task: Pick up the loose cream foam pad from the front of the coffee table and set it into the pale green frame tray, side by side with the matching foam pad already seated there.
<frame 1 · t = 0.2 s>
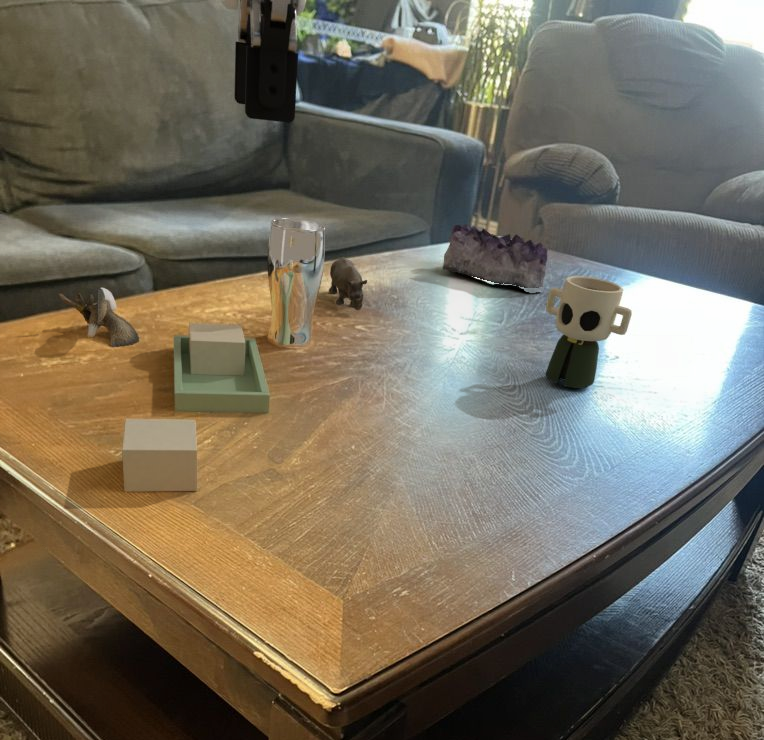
hand: (262, 111, 55), 30 cm above the table, tool pointing down, fingers open, 9 cm apart
loose pad: (161, 474, 69), on the table
rhino figurine: (346, 305, 119), on the table
beer glass: (290, 344, 102), on the table
character mug: (567, 384, 102), on the table
eagle figurine: (104, 340, 95), on the table
geode: (490, 280, 144), on the table
seated pad: (216, 365, 91), resting on frame tray
frame tray: (218, 383, 88), on the table
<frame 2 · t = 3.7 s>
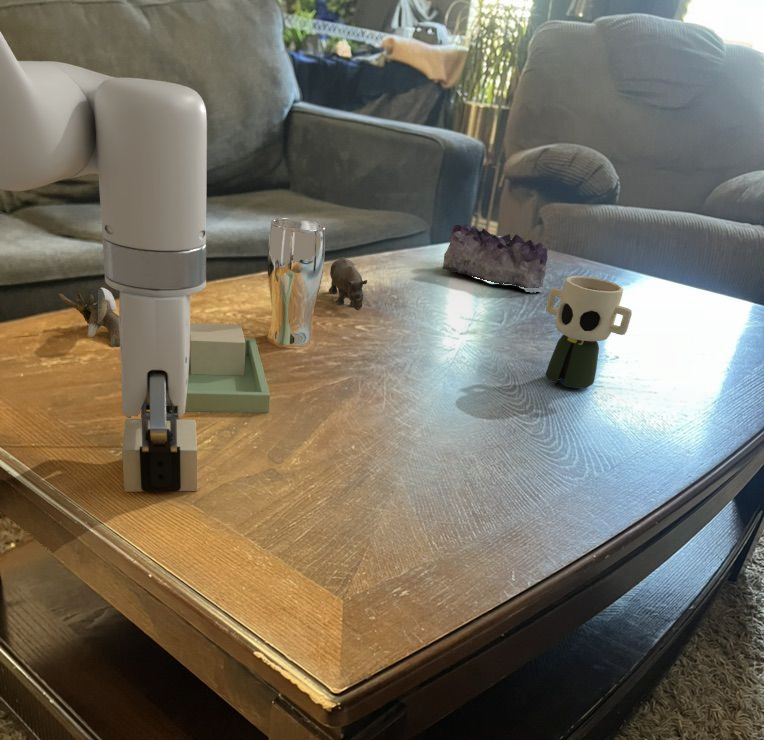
hand: (161, 468, 69), 1 cm above the table, tool pointing down, fingers closed on loose pad, 6 cm apart
loose pad: (161, 474, 69), on the table, touching gripper
everything else where it was.
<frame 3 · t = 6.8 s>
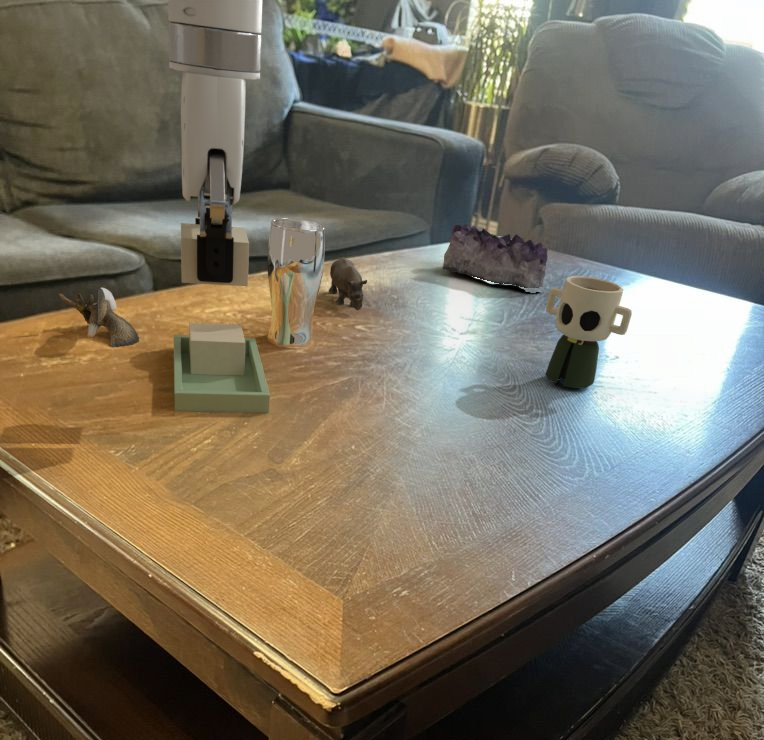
hand: (213, 269, 74), 15 cm above the table, tool pointing down, fingers closed on loose pad, 6 cm apart
loose pad: (213, 275, 74), point 14 cm above the table, touching gripper
everything else where it was.
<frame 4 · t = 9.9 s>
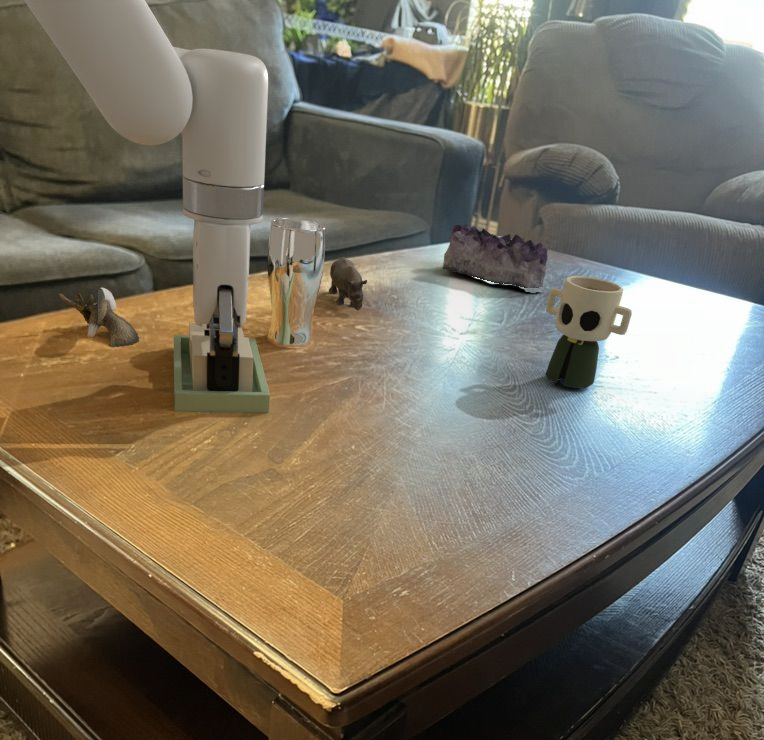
hand: (220, 376, 83), 2 cm above the table, tool pointing down, fingers closed on loose pad, 6 cm apart
loose pad: (221, 381, 83), point 2 cm above the table, touching gripper
everything else where it was.
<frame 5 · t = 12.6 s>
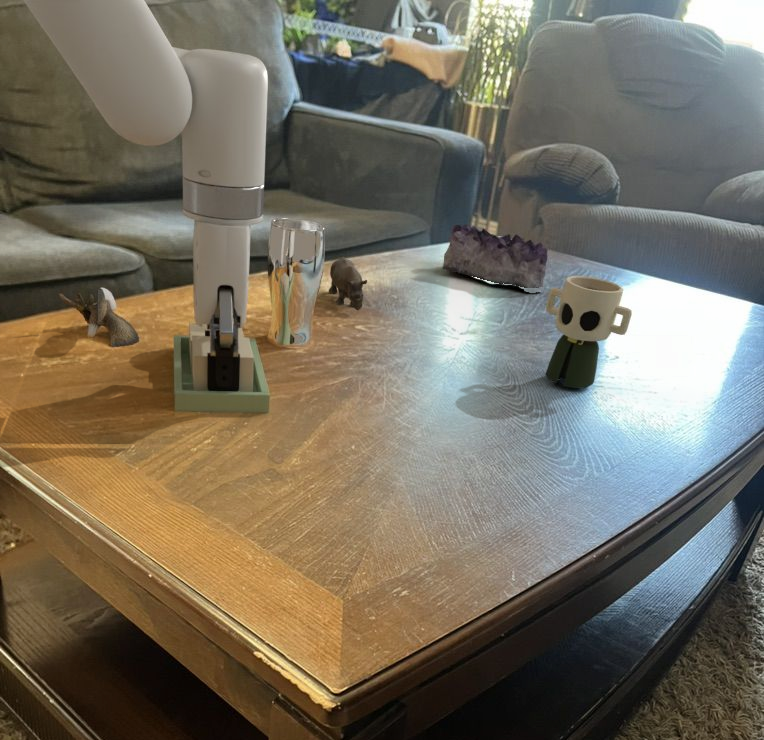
hand: (221, 376, 83), 2 cm above the table, tool pointing down, fingers closed on loose pad, 5 cm apart
loose pad: (221, 381, 83), point 2 cm above the table, touching gripper
everything else where it was.
when the fingers open (3 cm above the table, at t = 15.1 s): loose pad drops 2 cm, resting on frame tray.
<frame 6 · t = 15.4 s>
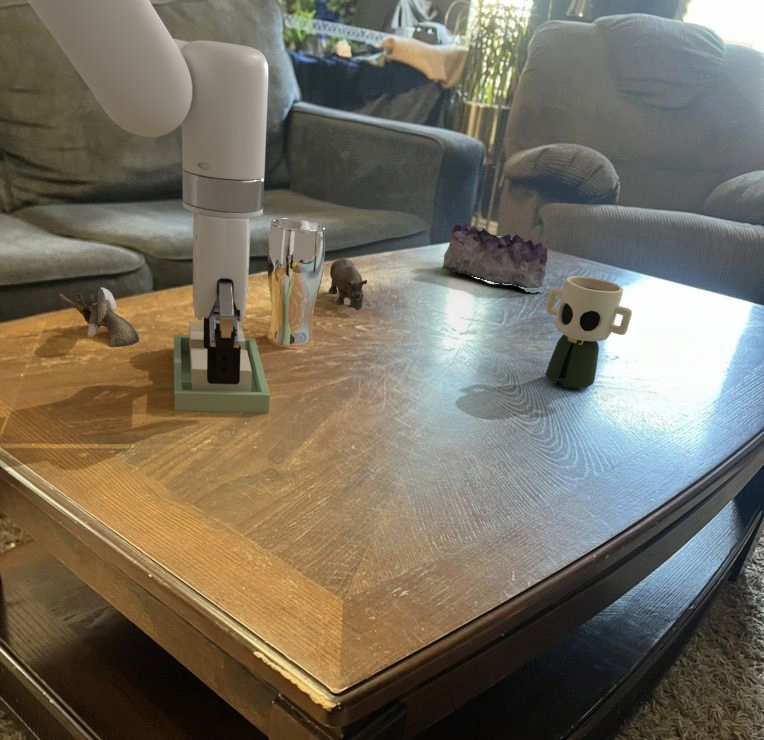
hand: (220, 365, 82), 4 cm above the table, tool pointing down, fingers open, 9 cm apart
loose pad: (220, 394, 84), resting on frame tray
everything else where it was.
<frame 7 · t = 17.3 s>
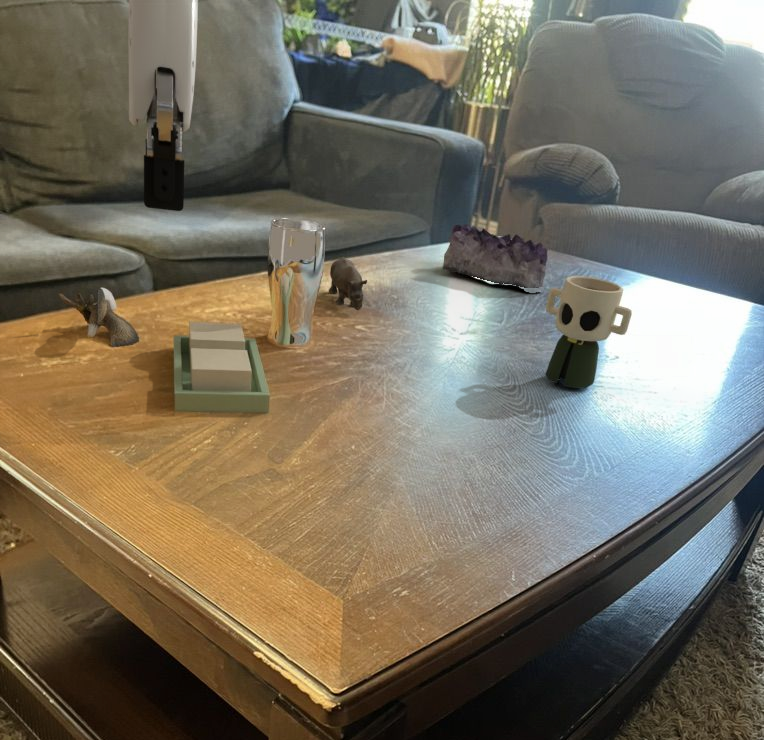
hand: (163, 197, 70), 21 cm above the table, tool pointing down, fingers open, 9 cm apart
nothing on the table moved.
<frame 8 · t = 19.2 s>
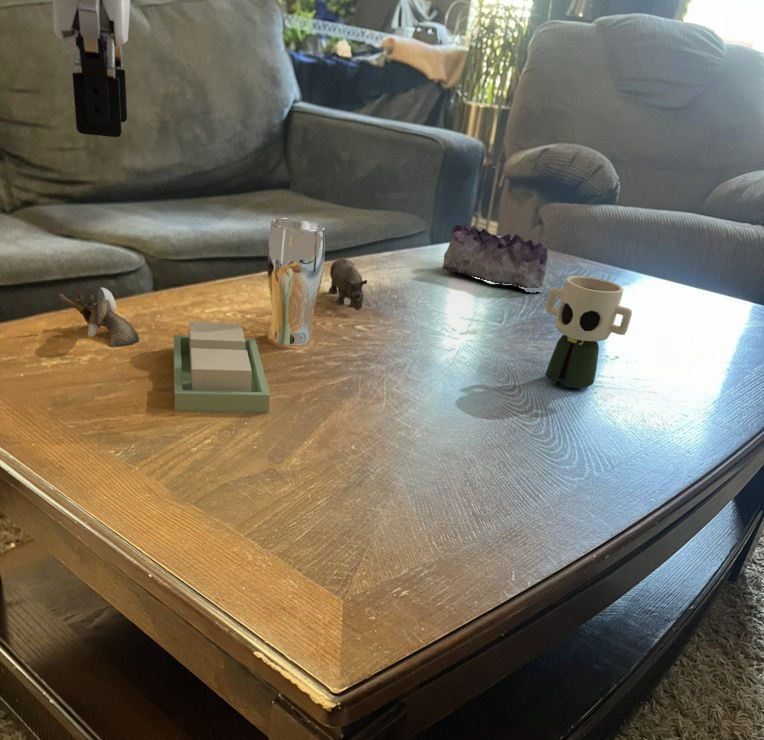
hand: (103, 127, 63), 26 cm above the table, tool pointing down, fingers open, 9 cm apart
nothing on the table moved.
at the end: loose pad 0.0 cm from the target spot in the frame tray, point 0.4 cm above the frame tray's base; loose pad 8.7 cm from the seated pad (horizontally); loose pad tilted 0° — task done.
